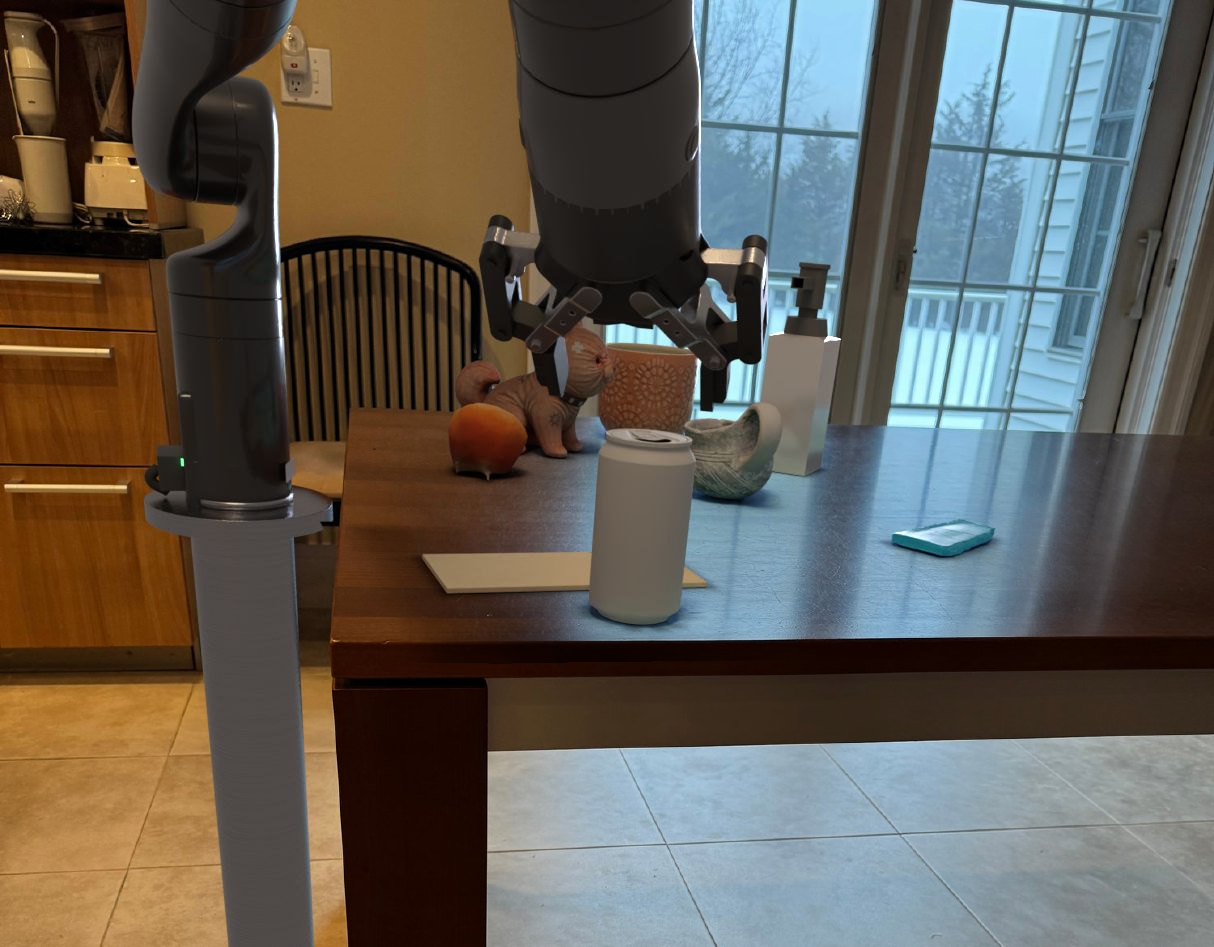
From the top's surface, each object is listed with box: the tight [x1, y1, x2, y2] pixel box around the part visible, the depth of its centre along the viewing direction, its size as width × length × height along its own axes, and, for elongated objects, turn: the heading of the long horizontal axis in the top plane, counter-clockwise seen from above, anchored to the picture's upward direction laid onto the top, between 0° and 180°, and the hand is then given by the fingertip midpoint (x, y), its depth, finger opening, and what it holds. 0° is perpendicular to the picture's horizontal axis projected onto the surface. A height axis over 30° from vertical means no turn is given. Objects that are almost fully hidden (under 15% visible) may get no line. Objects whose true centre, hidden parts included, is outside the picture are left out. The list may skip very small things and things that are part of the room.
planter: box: [597, 342, 700, 435], centre depth 142 cm, size 12×12×11 cm
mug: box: [684, 402, 782, 500], centre depth 113 cm, size 10×12×10 cm
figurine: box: [454, 319, 617, 459], centre depth 129 cm, size 10×19×15 cm, turn 72°
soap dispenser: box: [759, 261, 842, 477], centre depth 128 cm, size 6×9×22 cm
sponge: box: [891, 518, 996, 557], centre depth 105 cm, size 2×12×6 cm
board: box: [421, 551, 708, 594], centre depth 86 cm, size 20×9×1 cm, turn 109°
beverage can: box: [588, 429, 696, 625], centre depth 76 cm, size 6×6×12 cm
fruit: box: [447, 403, 528, 482], centre depth 116 cm, size 8×8×8 cm
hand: (633, 391), depth 63 cm, fingers open, 8 cm apart
